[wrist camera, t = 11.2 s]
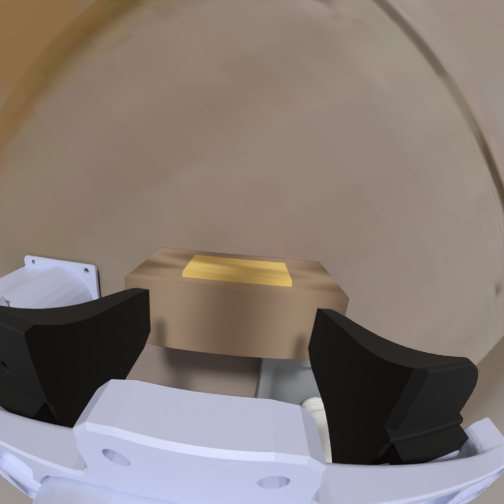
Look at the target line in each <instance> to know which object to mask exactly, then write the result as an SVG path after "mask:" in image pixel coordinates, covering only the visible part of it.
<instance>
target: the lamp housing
mask: <svg viewBox="0 0 504 504" xmlns="http://www.w3.org/2000/svg"><path fill="white" fill-rule="evenodd" d="M131 288H143V289H149V293H150V322H151V332H150V334H149V337H148V340H147V342H146V344H151V345H157V346H163V347H169V348H175V349H182V350H189V351H197V352H205V353H214V354H223V355H233V356H245V357H259V358H277V359H307V360H310V359H309V352H308V346H309V341H310V337H311V333H312V329H313V325H314V320H315V316H316V312H317V308H324V309H332V310H335V311H337V312H338V313H340V314H342V315H344V316H345V314H346V310H347V306H348V301H349V297H348V296H347V295H346V294H345V292H344V291H343V290H342V289H341V288H340V286H339V285H338V284H337V283H336V281H335V280H334V279H333V278H332V277H331V275H330V274H329V273H328V272H327V271H326V269H325V268H324V267H323V266H322V265H321V263H320V262H313V261H301V260H290V259H279V258H268V257H257V256H246V255H235V254H224V253H213V252H202V251H192V250H181V249H170V248H162V249H160V250H159V251H158V252H157V253H155V254H154V255H153V256H151V257H150V258H149V259H147V260H146V261H145V262H144V263H142V264H141V265H140V266H139V267H137V268H136V269H135V270H133V271H132V272H131V273H130V274H128V275H127V276H126V277H125V290H127V289H131Z"/></svg>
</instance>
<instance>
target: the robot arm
mask: <svg viewBox="0 0 504 504" xmlns="http://www.w3.org/2000/svg"><path fill="white" fill-rule="evenodd" d="M34 261H35V262H34ZM86 268H87V269H88V271H89V272H87V270H86ZM150 332H151V322H150V293H149V289H143V288H131V289H127V290H124V291H121V292H117V293H114V294H111V295H108V296H105V297H102V298H100V294H99V284H98V272H97V268H96V267H95V266H94V265H90V264H83V263H76V262H69V261H63V260H56V259H49V258H43V257H37V256H31V255H27V256H26V257H25V267H22V268H20V269H18V270H16V271H14V272H12V273H10V274H8V275H6V276H4V277H2V278H0V475H2V476H3V477H4V478H5V479H6V480H8V481H9V482H10V483H11V484H13V485H14V486H15V487H17V488H18V489H19V490H21V491H22V492H23V493H25V494H26V495H28V496H29V497H30V498H32V499H33V500H34V501H33V503H32V504H466V503H468V502H469V501H471V500H473V499H474V498H476V497H477V496H478V495H479V494H481V493H482V492H483V491H484V490H485V489H486V488H487V487H488V486H489V485H491V483H493V482H494V481H495V480H496V479H497V478H498V477H499V476H500V475H501V474H502V473H503V472H504V437H503V436H502V434H501V433H500V432H499V430H498V429H497V428H496V427H495V426H494V424H493V423H492V422H491V420H490V419H489V418H488V417H487V418H484V419H482V420H480V421H477V422H475V423H473V424H471V425H469V426H467V427H466V428H465V429H464V430H463V429H462V427H461V426H460V424H461V423H462V422H463V417H462V416H461V415H460V411H461V410H462V408H463V407H464V405H465V404H466V402H467V400H468V399H469V397H470V395H471V394H472V392H473V390H474V388H475V386H476V383H477V379H478V369H477V367H476V365H474V364H473V363H472V362H471V361H470V360H469V359H468V358H465V357H453V356H442V355H436V354H431V353H426V352H422V351H418V350H414V349H411V348H408V347H404V346H402V345H399V344H396V343H394V342H391V341H389V340H387V339H384V338H382V337H380V336H378V335H376V334H374V333H372V332H371V331H369V330H367V329H365V328H363V327H362V326H360V325H358V324H357V323H355V322H353V321H352V320H350V319H349V318H347V317H345V316H344V315H342V314H340V313H338V312H337V311H335V310H332V309H324V308H317V312H316V316H315V320H314V325H313V329H312V333H311V337H310V341H309V346H308V352H309V359H310V365H311V368H312V372H313V375H314V378H315V381H316V384H317V387H318V390H319V393H320V396H321V399H322V402H323V406H324V409H325V414H326V419H327V425H328V432H329V439H330V447H331V457H332V463H328V462H326V460H325V456H324V452H323V448H322V444H321V440H320V435H319V431H318V427H317V423H316V419H315V418H314V417H313V416H311V415H310V414H309V413H308V412H307V411H306V410H304V409H303V408H302V407H301V406H300V405H295V404H290V403H286V402H281V401H277V400H272V399H259V398H245V397H234V396H224V395H216V394H208V393H201V392H194V391H188V390H182V389H176V388H170V387H165V386H160V385H155V384H150V383H146V382H141V381H137V380H125V379H126V377H127V375H128V374H129V372H130V370H131V369H132V367H133V365H134V364H135V362H136V360H137V359H138V357H139V355H140V354H141V352H142V350H143V349H144V347H145V344H146V342H147V340H148V337H149V334H150Z"/></svg>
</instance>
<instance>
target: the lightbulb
mask: <svg viewBox="0 0 504 504" xmlns="http://www.w3.org/2000/svg"><path fill="white" fill-rule="evenodd" d="M301 407H302V408H303V409H304V410H306V411H307V412H308V413H309V414H310V415H311V416H313V417H314V418H315V419H316V423H317V427H318V431H319V435H320V440H321V444H322V448H323V452H324V456H325V460H326V462H328V463H332V457H331V447H330V439H329V432H328V425H327V419H326V414H325V409H324V406H323V402H322V399H321V398H319V397H312V398H309V399H307V400H305V401H304V402H303V403H302V404H301Z"/></svg>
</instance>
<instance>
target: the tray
mask: <svg viewBox="0 0 504 504" xmlns="http://www.w3.org/2000/svg"><path fill="white" fill-rule="evenodd" d="M312 397H319V398H321V396H320V393H319V390H318V387H317V384H316V381H315V378H314V375H313V372H312V368H311V365H310V360H307V359H277V358H261V363H260V370H259V377H258V384H257V390H256V397H255V398H259V399H272V400H277V401H281V402H286V403H290V404H295V405H300V406H301V404H302V403H303V402H304V401H305V400H307V399H309V398H312Z"/></svg>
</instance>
